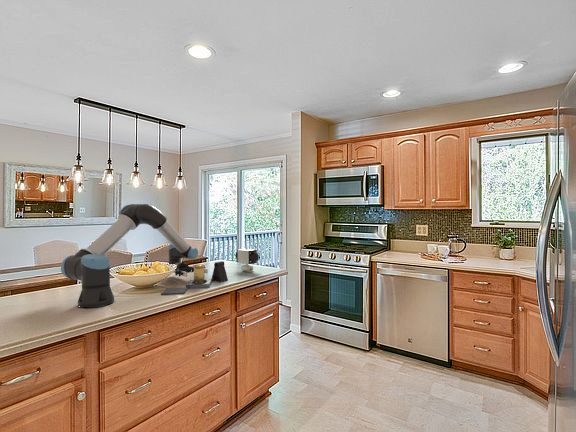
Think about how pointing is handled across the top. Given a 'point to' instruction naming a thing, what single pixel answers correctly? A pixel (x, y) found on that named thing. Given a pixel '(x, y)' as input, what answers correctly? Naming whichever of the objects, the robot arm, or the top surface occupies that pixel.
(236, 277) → the top surface
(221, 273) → the phone stand
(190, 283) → the housing
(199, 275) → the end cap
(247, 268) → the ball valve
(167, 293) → the mat
